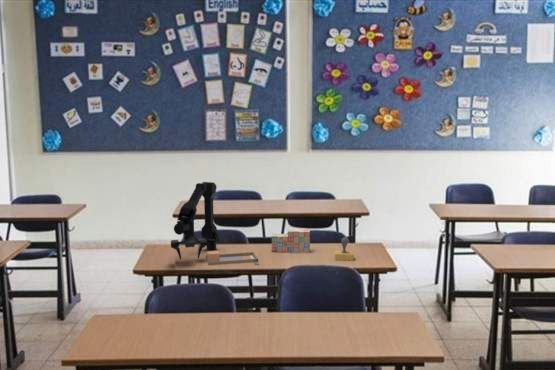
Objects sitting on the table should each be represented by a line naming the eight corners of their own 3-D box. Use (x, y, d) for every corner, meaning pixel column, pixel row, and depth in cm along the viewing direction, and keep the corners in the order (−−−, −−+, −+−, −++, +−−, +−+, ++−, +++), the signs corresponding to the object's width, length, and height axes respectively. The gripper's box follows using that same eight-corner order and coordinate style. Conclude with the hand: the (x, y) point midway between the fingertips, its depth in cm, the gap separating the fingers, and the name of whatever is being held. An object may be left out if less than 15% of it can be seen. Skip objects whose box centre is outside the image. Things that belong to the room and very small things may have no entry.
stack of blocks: (271, 252, 351) (271, 231, 349) (272, 249, 358) (272, 228, 355) (309, 253, 350) (309, 231, 348) (310, 250, 356) (310, 228, 354)
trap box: (205, 260, 336) (205, 255, 336) (253, 257, 342) (253, 252, 341) (208, 267, 324) (208, 262, 323) (258, 264, 329) (258, 258, 329)
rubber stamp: (334, 260, 336) (335, 238, 334) (334, 257, 342) (335, 235, 339) (353, 260, 335) (354, 239, 333) (353, 257, 341) (353, 236, 339)
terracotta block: (207, 258, 334) (207, 251, 333) (218, 258, 335) (218, 250, 335) (208, 261, 329) (208, 254, 329) (219, 260, 331) (219, 253, 330)
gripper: (171, 234, 317) (172, 264, 320) (208, 232, 321) (208, 262, 324) (170, 229, 328) (171, 258, 330) (205, 227, 332) (206, 255, 334)
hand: (189, 258), depth 330 cm, fingers open, 9 cm apart
